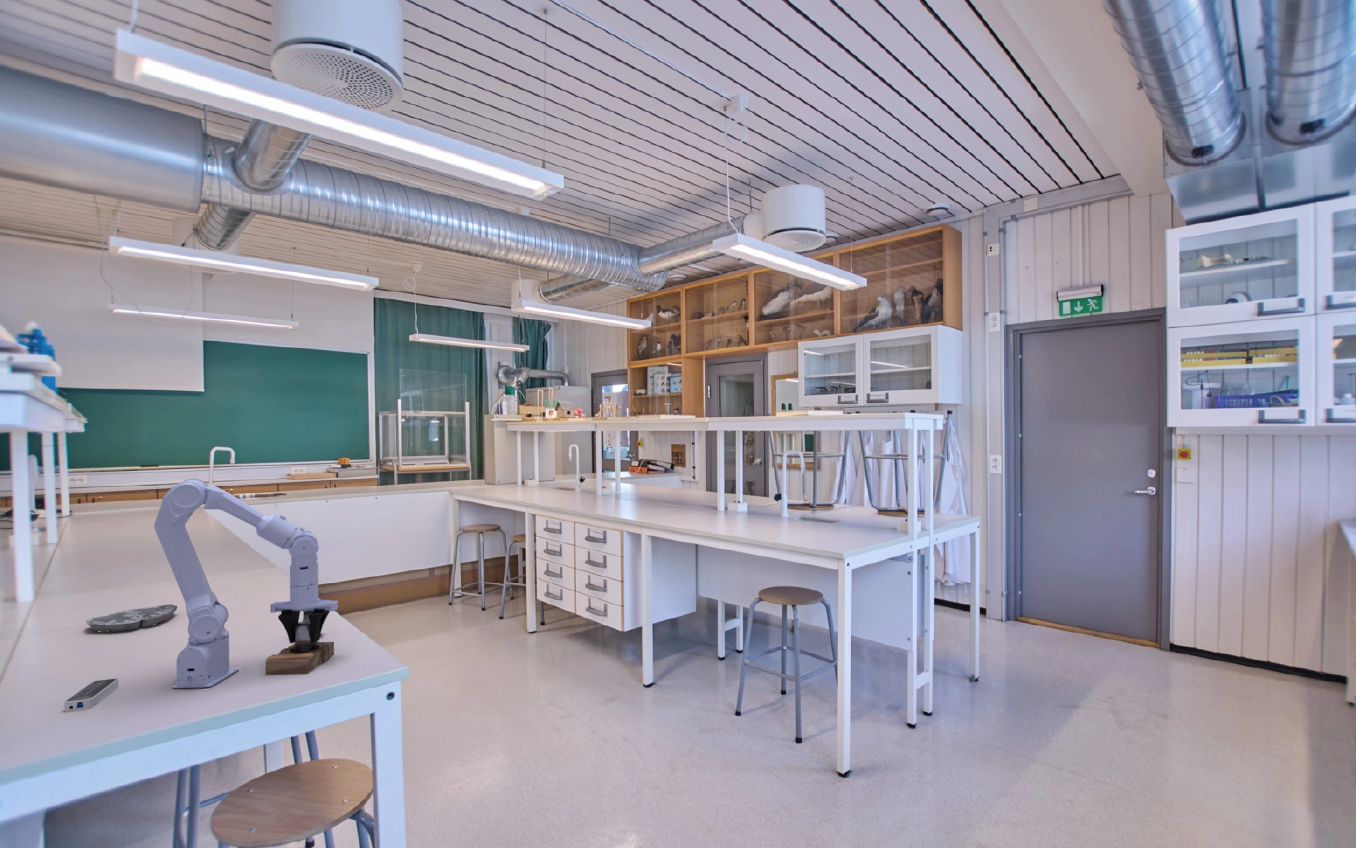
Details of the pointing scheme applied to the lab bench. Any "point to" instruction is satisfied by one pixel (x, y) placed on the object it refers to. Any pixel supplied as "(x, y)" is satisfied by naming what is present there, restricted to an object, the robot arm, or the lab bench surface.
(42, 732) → the lab bench surface
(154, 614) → the brain slice
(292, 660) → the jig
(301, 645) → the bushing
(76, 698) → the multiport hub
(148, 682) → the lab bench surface
